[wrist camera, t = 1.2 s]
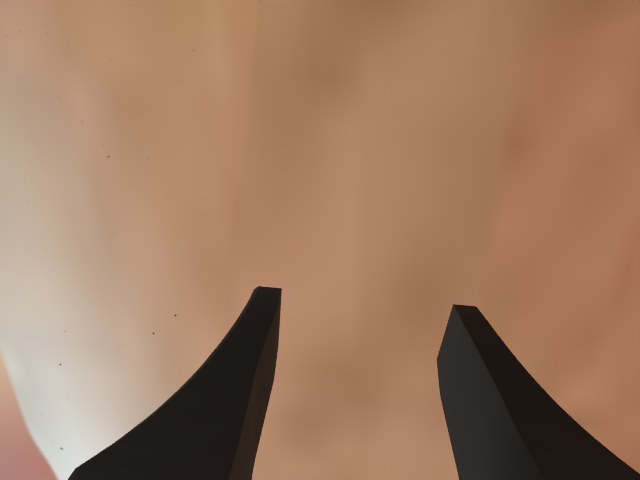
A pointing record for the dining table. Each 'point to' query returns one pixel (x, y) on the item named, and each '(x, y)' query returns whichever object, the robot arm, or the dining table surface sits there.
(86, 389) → the dining table surface
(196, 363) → the dining table surface
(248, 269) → the dining table surface
